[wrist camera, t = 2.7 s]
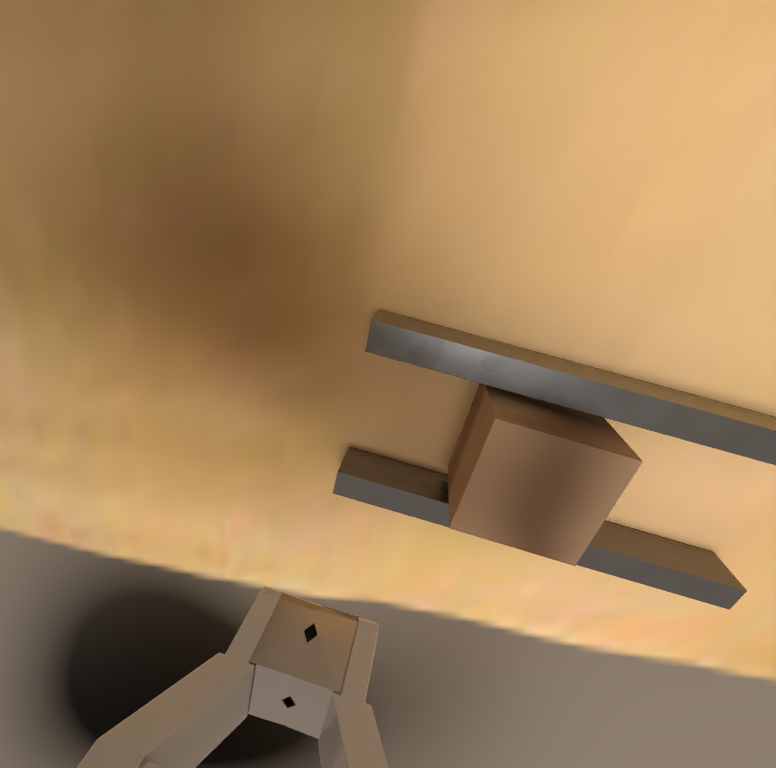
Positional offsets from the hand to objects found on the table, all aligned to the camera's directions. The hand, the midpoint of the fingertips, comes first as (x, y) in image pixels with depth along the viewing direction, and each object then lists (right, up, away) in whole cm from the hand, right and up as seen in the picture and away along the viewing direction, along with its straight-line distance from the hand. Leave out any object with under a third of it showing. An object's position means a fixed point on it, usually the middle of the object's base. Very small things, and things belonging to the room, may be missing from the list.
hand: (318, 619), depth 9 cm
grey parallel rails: (+11, +2, +11) cm, 16 cm away
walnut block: (+9, +3, +11) cm, 15 cm away
